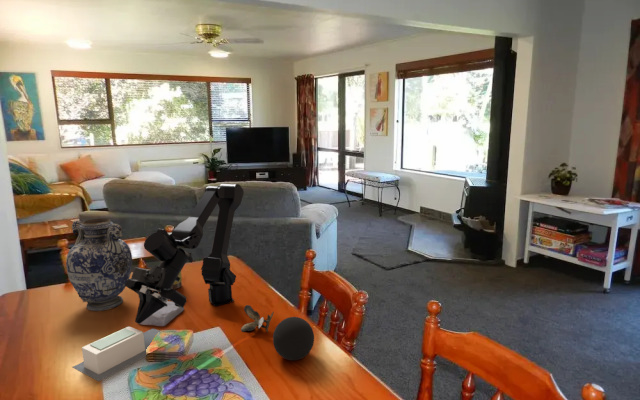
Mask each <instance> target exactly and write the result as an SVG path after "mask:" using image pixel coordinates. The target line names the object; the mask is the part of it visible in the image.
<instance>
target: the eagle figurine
mask: <svg viewBox="0 0 640 400" xmlns="http://www.w3.org/2000/svg"><path fill="white" fill-rule="evenodd" d="M243 308H244V309H243V310H244V312H245V315H247V316H248V318H249V319H252V320H253V321H252V322H248V323H245V324H244V325H242V326H241V328H240V331H241V332H246V331H248V332H250V331H254V330H255V329H256V328H257V327H258V329H260V328H262V329H264V330H265V331H266V333H269V327H270V324H271V323H270V322H271V320H272V318H273V316H274V313H275V312H274V311H272V312H271V315H269V314H267V316H266V317H267V318H266V319H265V318H264V316H262V317H261V315H260V313H259V311H257V310H254V309H253V307H252V306H251V305H249V304H248V305H247V304H246V305H245V306H244V307H243ZM263 323H265V325H264V324H263Z"/></svg>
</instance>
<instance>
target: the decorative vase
mask: <svg viewBox="0 0 640 400" xmlns="http://www.w3.org/2000/svg"><path fill="white" fill-rule="evenodd" d="M71 230H72V233H73V235H74V236H76V237H77V238H76V239H75V243H74V245H73V246H72V247H70V249H69V250H68V252H67V254H66V260H65V266H66V267H65V268H66V273H67V276H68V279H69V282H70V284H71V285H72V287H73V288H74V290H75V291H76V293H77V295H78V297H79V298H80V299H81V300H82V303H86V305H85V307H86V309H87V310H88V311H93V312H103V311H107V310H111V309H114V308H117V307H118V306H120V305H122V304H123V302H124V298H123V297H122V296H121V295H120V294H121V293H123V292H124V290H125V288H127V287H126V286H125V284H126V282H127V281H128V279H131V273H132V269H133V255H132V251H131V248H130V246H129V244H128V243H126V242H127V241H124V240H123V239H121V238H122V237H123V227H122V226H121V225H120V224H118V223H114V222H113V221H111V219H109V218H104V217H103V218H91V219H87V220H83V221H81V220H76V221H75V220H74V221H73V222H72V224H71Z"/></svg>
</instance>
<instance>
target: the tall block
mask: <svg viewBox="0 0 640 400" xmlns="http://www.w3.org/2000/svg"><path fill="white" fill-rule="evenodd" d="M143 333H144V331H142V330H140V329H136V328H134V327H132V326H126V327H125V328H122V329H120V330H118V331H115V332H113V333H111V334H109V335H107V336H104V337H102V338H99V339H97V340H95V341H93V342H91V343H88V344H86V345H84V346H82V347H81V352H82V360H83V361H82V362H84V367H85V368H87V369H89V370H91V371H93V372H95V373H97V374H101V373H103V372H105V371H106V370H108V369H110V368H112V367H114V366H116V365H118V364H120V363H122V362H124V361H126V360H128V359H129V358H131V357H133V356H135V355H137V354H139V353H141V352H143V351H145V344H144V334H143Z"/></svg>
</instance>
